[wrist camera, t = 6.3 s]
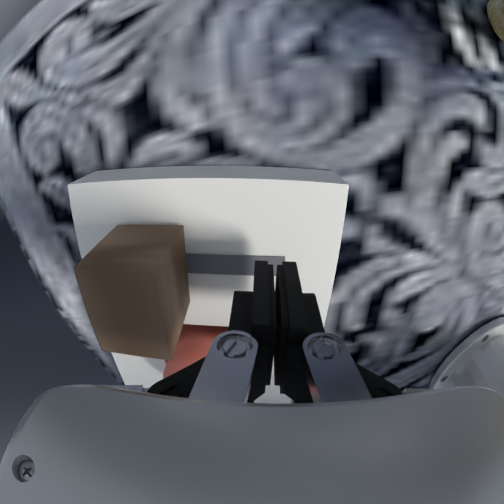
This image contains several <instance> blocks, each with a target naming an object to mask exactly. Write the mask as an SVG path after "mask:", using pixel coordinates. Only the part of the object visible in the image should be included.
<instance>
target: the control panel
mask: <svg viewBox="0 0 504 504" xmlns="http://www.w3.org/2000/svg"><path fill="white" fill-rule="evenodd" d="M348 188H349V184H348V183H346V182H345V181H344V180H343V179H342V178H340V177H339V176H338V175H337V174H335V173H334V172H333V171H328V170H316V169H302V168H285V167H262V166H165V167H143V168H126V169H113V170H101V171H95V172H93V173H90V174H88V175H86V176H84V177H82V178H80V179H78V180H76V181H74V182H72V183H70V184H68V192H69V199H70V205H71V211H72V216H73V222H74V227H75V232H76V237H77V241H78V246H79V250H80V254H81V258H82V259H83V258H84V257H85V256H86V255H87V254H88V253H89V252H90V251H91V250H92V249H93V248H94V247H95V246H96V245H97V244H98V243H99V242H100V241H101V240H102V239H103V238H104V237H105V236H106V235H107V234H108V233H109V232H110V231H111V230H113V229H114V228H115V227H116V226H117V225H184V239H185V252H186V264H187V274H188V284H189V294H190V304H189V307H188V310H187V313H186V316H185V320H184V323H183V324H193V325H208V326H227V327H229V321H230V315H231V308H232V301H233V295H234V291H253V283H254V264H255V260H261V261H268V264H273V270H274V286H275V284H276V271H277V265H282V262H283V261H288V262H296V264H297V269H298V273H299V278H300V283H301V288H302V293H314V294H315V295H316V299H317V303H318V307H319V311H320V315H321V319H322V323H323V327H324V324H325V320H326V315H327V311H328V306H329V302H330V297H331V292H332V287H333V282H334V277H335V272H336V266H337V261H338V255H339V249H340V243H341V237H342V231H343V224H344V218H345V211H346V204H347V196H348ZM111 353H112V355H113V358H114V360H115V363H116V365H117V367H118V370H119V372H120V374H121V377H122V379H123V381H124V383H125V385H143V387H144V388H150V387H151V386H152V385H153V384H155V383H156V382H158V381H160V380H162V379H163V373H164V369H165V366H166V363H167V360H163V359H155V358H147V357H140V356H133V355H126V354H120V353H114V352H111ZM254 403H272V404H291V399H290V398H289V397H288V396H286V395H285V394H280V386H275V385H274V356H273V365H272V374H271V382H270V385H266V387H265V393H264V394H263V395H261V396H260V397H259V398H257V399H256V400H255V402H254Z"/></svg>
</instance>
